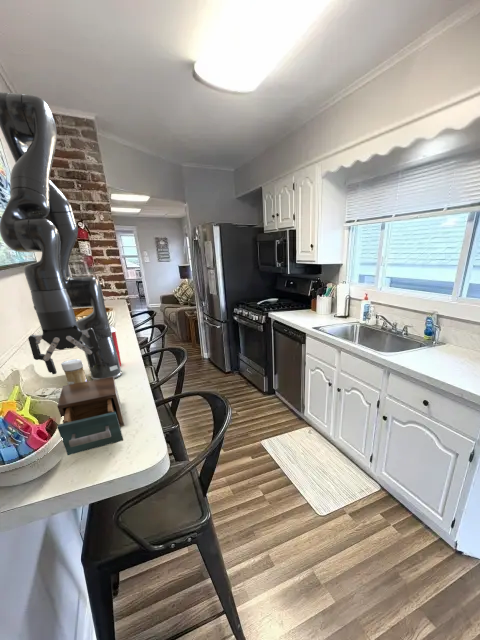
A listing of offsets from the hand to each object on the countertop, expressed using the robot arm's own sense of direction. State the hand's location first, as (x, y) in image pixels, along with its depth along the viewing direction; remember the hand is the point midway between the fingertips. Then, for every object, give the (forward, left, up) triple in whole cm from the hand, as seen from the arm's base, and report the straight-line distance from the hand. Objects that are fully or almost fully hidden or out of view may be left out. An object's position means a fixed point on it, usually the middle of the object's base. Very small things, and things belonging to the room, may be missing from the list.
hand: (73, 370), depth 82 cm
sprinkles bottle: (0, 0, -11) cm, 11 cm away
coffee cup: (-35, +8, -11) cm, 38 cm away
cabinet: (+11, +3, -11) cm, 16 cm away
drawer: (+23, +3, -10) cm, 25 cm away
